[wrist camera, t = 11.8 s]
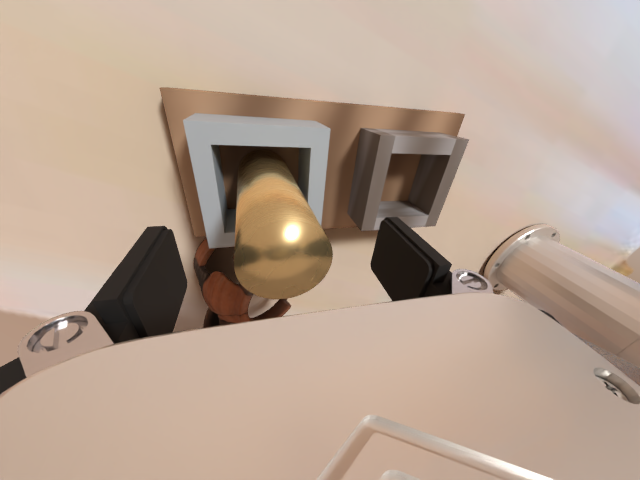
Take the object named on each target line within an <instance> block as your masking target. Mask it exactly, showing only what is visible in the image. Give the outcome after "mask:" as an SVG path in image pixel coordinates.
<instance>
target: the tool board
mask: <svg viewBox="0 0 640 480" xmlns="http://www.w3.org/2000/svg"><path fill="white" fill-rule="evenodd" d="M160 91H161V96H162V100H163V104H164V108H165V113H166V117H167V121H168V125H169V130H170V134H171V138H172V142H173V147H174V151H175V155H176V159H177V164H178V168H179V172H180V176H181V181H182V185H183V189H184V193H185V198H186V202H187V206H188V210H189V215H190V219H191V223H192V227H193V231H194V236H195V237H198V236H206V231H205V226H204V221H203V216H202V211H201V206H200V202H199V197H198V192H197V187H196V182H195V177H194V172H193V167H192V162H191V157H190V153H189V148H188V143H187V138H186V133H185V128H184V123H183V120H184V119H186V118H188V117H189V116H191V115H193V114H195V113H201V114H217V115H232V116H248V117H264V118H279V119H295V120H310V121H317V122H319V123H321V124H323V125H325V126H326V127H328V128H330V139H329V150H328V160H327V170H326V181H325V191H324V201H323V212H322V222H321V227H322V229H328V228H344V227H358V228H359V229H360V230H361V231H369V230H379V227H380V223H381V221H382V220H384V219H385V218H386V217H398V218H400V219H401V220H402V221H403V222H404V223H405V224H406V225H408V226H409V227H410V228H414V227H429V226H435V225H436V223H437V220H438V218H439V215H440V212H441V210H442V207H443V205H444V202H445V200H446V197H447V195H448V192H449V189H450V187H451V184H452V182H453V179H454V177H455V174H456V172H457V169H458V166H459V164H460V161H461V159H462V156H463V154H464V151H465V149H466V146H467V143H468V141H469V140H468V139H464V138H460V137H457V135H458V132H459V129H460V126H461V124H462V121H463V118H464V115H465V114H460V113H451V112H440V111H429V110H417V109H406V108H394V107H383V106H372V105H360V104H349V103H337V102H326V101H314V100H303V99H292V98H280V97H269V96H257V95H246V94H235V93H223V92H212V91H200V90H189V89H177V88H160ZM259 149H265V150H270V151H272V152H274V153H276V154H278V155H279V156H280V157H281V158H282V159H283V161H284V162H285V164H286V166H287V167H288V169H289V171H290V173H291V174H292V176H293V178H294V180H295V181H296V183H297V185H298V162H299V147H270V146H239V145H219V151H220V158H221V165H222V173H223V180H224V187H225V194H226V202H227V209H236V206H237V183H238V168H239V164H240V162H241V160H242V159H243V158H244V157H245V156H246V155H247V154H248V153H250V152H252V151H254V150H259Z"/></svg>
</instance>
